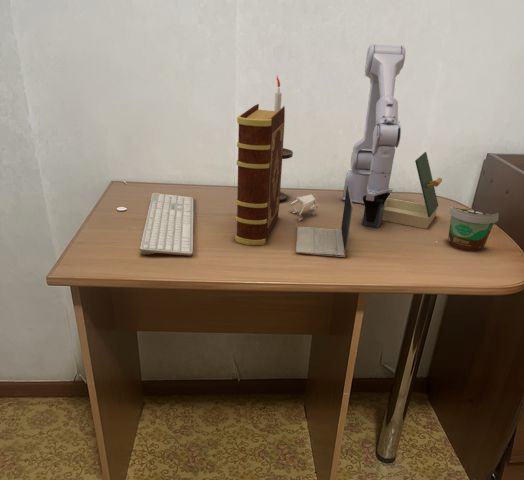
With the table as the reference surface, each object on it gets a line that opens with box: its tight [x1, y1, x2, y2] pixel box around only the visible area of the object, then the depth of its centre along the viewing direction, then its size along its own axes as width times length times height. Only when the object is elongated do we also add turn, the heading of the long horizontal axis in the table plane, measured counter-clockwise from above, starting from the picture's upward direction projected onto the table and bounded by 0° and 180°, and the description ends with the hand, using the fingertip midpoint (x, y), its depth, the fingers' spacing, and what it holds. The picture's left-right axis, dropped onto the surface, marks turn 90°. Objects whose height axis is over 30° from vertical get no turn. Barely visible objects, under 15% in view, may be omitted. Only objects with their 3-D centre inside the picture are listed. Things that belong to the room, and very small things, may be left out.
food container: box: [447, 203, 499, 252], centre depth 135 cm, size 12×6×10 cm, turn 62°
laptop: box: [295, 185, 353, 258], centre depth 133 cm, size 18×12×13 cm
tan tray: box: [382, 197, 438, 230], centre depth 155 cm, size 16×12×3 cm
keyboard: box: [139, 192, 194, 257], centre depth 142 cm, size 44×12×2 cm, turn 6°
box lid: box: [414, 151, 443, 217], centre depth 148 cm, size 16×12×4 cm
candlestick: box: [273, 74, 294, 203], centre depth 157 cm, size 11×11×35 cm
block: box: [361, 204, 385, 228], centre depth 149 cm, size 4×4×6 cm
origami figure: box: [289, 193, 319, 222], centre depth 152 cm, size 12×8×5 cm
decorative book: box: [234, 103, 286, 246], centre depth 134 cm, size 22×8×30 cm, turn 168°
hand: (372, 219), depth 149 cm, fingers closed on block, 4 cm apart
